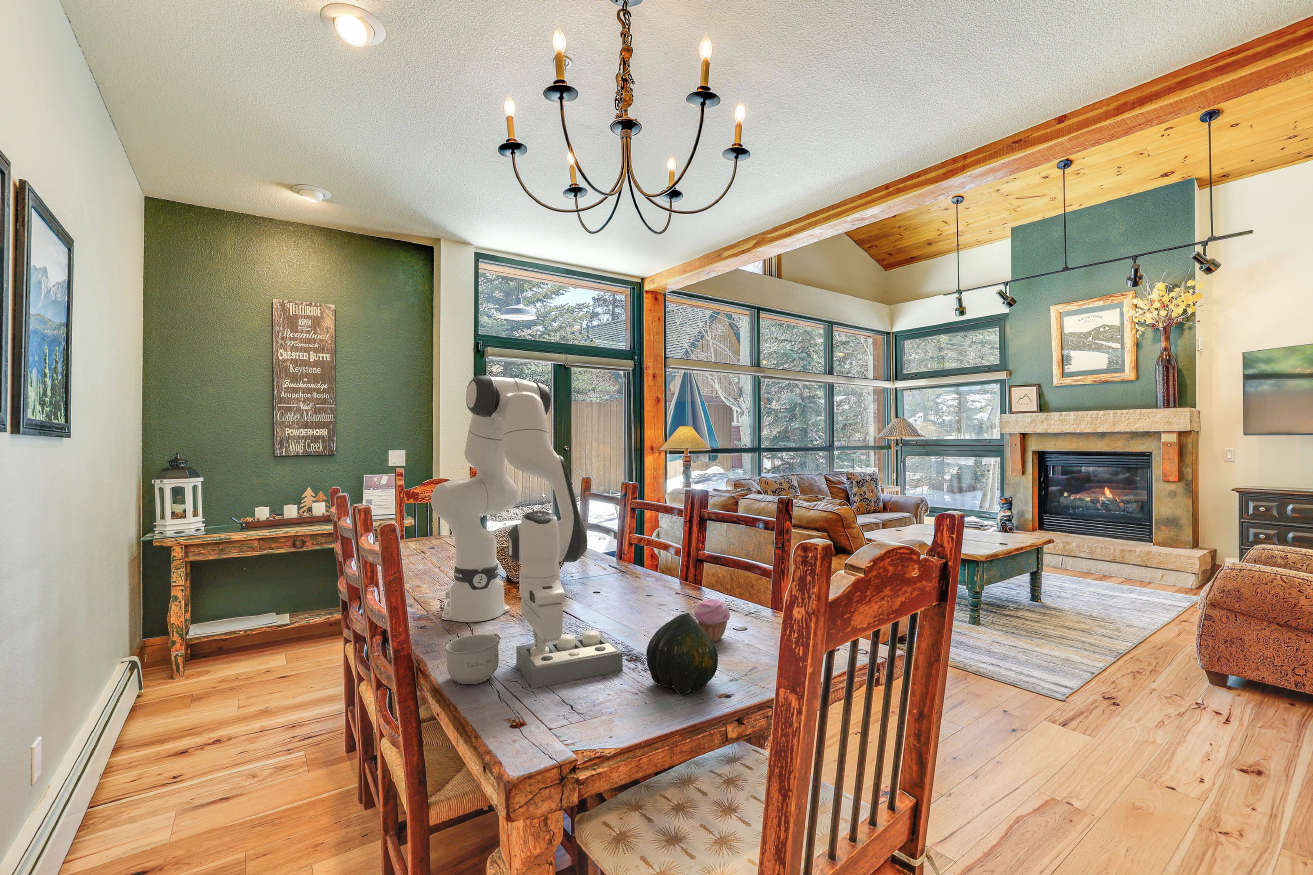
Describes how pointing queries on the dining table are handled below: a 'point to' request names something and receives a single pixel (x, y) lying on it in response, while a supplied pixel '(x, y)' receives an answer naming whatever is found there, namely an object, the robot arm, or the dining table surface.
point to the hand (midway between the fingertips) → (540, 648)
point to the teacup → (473, 658)
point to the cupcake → (712, 617)
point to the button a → (535, 652)
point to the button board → (568, 662)
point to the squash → (682, 655)
